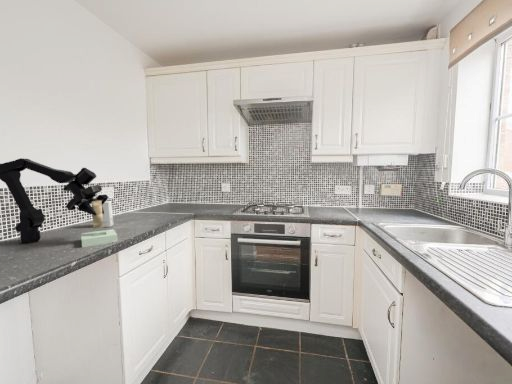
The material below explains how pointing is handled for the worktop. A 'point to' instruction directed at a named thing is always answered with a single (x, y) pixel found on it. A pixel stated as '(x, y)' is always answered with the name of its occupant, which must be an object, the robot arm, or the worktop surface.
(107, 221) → the skincare box
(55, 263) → the worktop surface
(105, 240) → the hole block
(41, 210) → the robot arm
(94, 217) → the beech peg
